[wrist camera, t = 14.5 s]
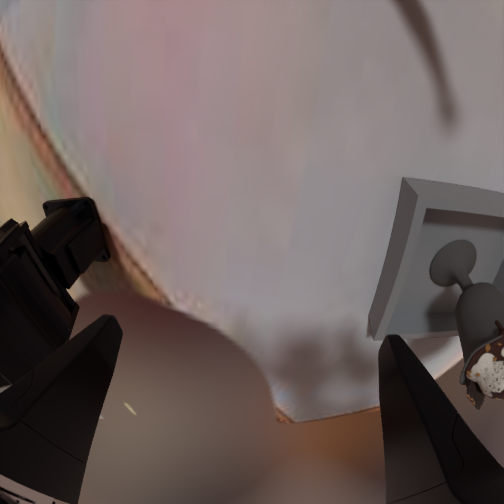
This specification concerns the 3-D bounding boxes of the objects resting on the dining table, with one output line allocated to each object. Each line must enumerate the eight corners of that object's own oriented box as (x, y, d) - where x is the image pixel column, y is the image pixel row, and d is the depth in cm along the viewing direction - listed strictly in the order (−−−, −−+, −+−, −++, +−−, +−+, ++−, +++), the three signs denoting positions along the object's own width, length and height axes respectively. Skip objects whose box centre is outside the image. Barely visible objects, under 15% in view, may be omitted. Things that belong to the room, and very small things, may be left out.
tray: (368, 315, 25) (373, 340, 23) (402, 177, 18) (418, 195, 15) (477, 311, 24) (487, 332, 21) (526, 198, 16) (545, 215, 14)
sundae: (482, 218, 18) (581, 371, 5) (483, 276, 21) (545, 415, 8) (414, 246, 20) (485, 430, 8) (425, 301, 23) (468, 455, 11)
